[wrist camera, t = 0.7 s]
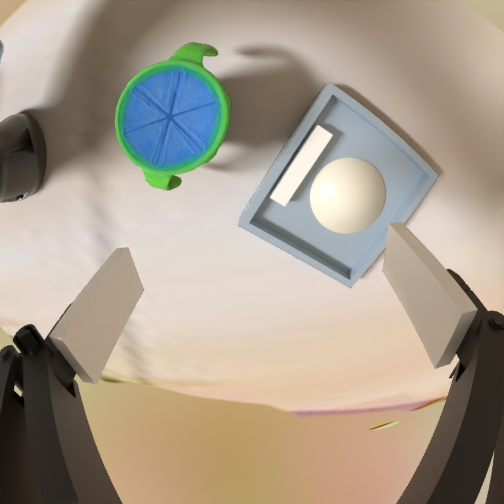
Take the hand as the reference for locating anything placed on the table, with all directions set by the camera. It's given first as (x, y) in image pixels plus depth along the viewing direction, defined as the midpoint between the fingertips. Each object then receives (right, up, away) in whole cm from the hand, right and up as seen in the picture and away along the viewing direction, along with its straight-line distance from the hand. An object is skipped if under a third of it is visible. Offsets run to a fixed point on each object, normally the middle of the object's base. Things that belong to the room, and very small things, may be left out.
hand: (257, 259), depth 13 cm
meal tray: (+11, +8, +19) cm, 24 cm away
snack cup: (-7, +17, +16) cm, 24 cm away
